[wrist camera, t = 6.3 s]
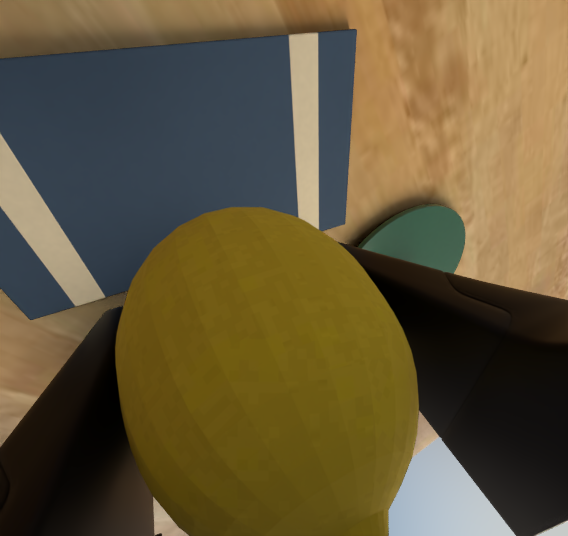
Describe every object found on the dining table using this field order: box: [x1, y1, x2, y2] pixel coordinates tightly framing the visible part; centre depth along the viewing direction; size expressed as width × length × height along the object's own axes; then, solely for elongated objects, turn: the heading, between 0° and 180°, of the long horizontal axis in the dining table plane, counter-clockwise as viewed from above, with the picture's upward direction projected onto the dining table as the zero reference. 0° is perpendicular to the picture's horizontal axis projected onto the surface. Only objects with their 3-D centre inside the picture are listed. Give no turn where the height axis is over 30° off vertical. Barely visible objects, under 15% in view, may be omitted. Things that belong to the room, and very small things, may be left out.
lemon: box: [115, 207, 419, 536], centre depth 6 cm, size 6×6×8 cm
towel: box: [0, 29, 357, 320], centre depth 15 cm, size 20×11×1 cm, turn 95°
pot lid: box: [358, 204, 465, 274], centre depth 26 cm, size 15×15×6 cm
